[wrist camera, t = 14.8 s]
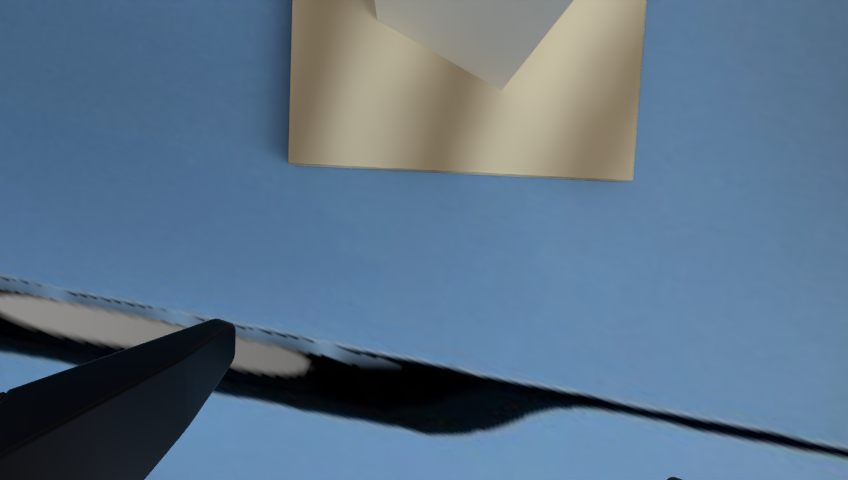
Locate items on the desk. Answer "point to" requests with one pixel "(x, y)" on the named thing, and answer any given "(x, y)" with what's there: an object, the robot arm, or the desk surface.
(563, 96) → the post stand
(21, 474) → the robot arm
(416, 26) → the tall white pillar
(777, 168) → the desk surface
